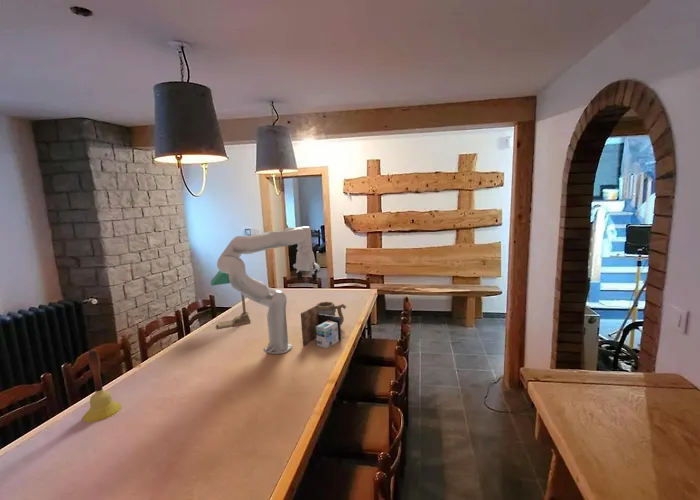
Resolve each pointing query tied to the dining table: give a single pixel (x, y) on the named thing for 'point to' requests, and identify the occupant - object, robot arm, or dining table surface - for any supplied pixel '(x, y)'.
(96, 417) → the handbell
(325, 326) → the light bulb box
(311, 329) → the walnut wall
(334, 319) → the bookend
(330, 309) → the tankard
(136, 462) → the dining table surface
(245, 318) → the banker's lamp
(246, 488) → the dining table surface
